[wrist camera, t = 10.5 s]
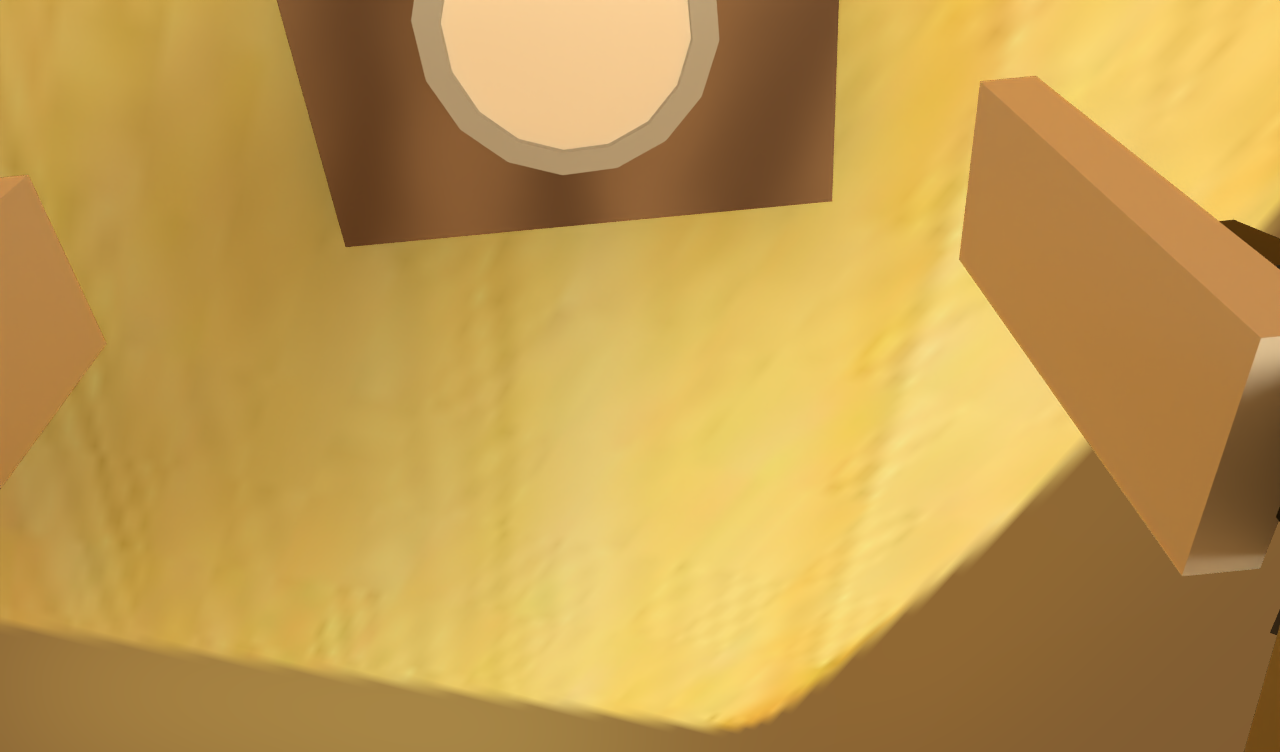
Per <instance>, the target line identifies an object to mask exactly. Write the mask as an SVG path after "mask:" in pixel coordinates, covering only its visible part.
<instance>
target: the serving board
mask: <svg viewBox="0 0 1280 752" xmlns="http://www.w3.org/2000/svg"><path fill="white" fill-rule="evenodd" d="M716 1H717V14H718V28H719V43H718V46H717V50H716V53H715V56H714V59H713V62H712V65H711V69H710V72H709V75H708V78H707V81H706V84H705V88H704V91H703V94H702V97H701V98H700V99H699V101H698V102H697V103H696V104H695V106H694V107H693V108H692V109H691V110H690V112H689V113H688V114H687V115H686V117H685V118H684V119H683V120H682V121H681V123H680V124H679V125H678V126H677V128H676V129H675V130H674V131H673V133H672V134H671V135H670V136H669V137H668V139H667V140H666V141H665V142H663V143H661V144H659V145H657V146H656V147H654V148H652V149H650V150H648V151H647V152H645V153H643V154H641V155H639V156H638V157H636V158H634V159H632V160H631V161H629V162H627V163H625V164H623V165H622V166H620V167H618V168H613V169H605V170H598V171H590V172H583V173H576V174H568V175H559V174H555V173H551V172H547V171H543V170H539V169H534V168H530V167H526V166H522V165H518V164H513V163H509V162H507V161H506V160H504V159H503V158H501V157H500V156H498V155H497V154H495V153H494V152H492V151H491V150H489V149H488V148H486V147H485V146H483V145H482V144H481V143H479V142H478V141H476V140H475V139H473V138H472V137H470V136H469V135H467V134H466V133H464V132H463V131H461V130H460V129H459V127H458V126H457V124H456V123H455V121H454V120H453V119H452V117H451V116H450V114H449V113H448V111H447V110H446V109H445V107H444V106H443V104H442V103H441V101H440V100H439V99H438V97H437V96H436V94H435V93H434V92H433V90H432V89H431V87H430V86H429V84H428V83H427V82H426V79H425V75H424V71H423V67H422V63H421V59H420V55H419V51H418V47H417V43H416V39H415V35H414V31H413V27H412V23H411V18H412V11H413V4H414V0H277V3H278V6H279V10H280V13H281V17H282V21H283V24H284V28H285V31H286V35H287V39H288V42H289V46H290V49H291V53H292V56H293V60H294V64H295V67H296V71H297V74H298V78H299V81H300V85H301V89H302V92H303V96H304V99H305V103H306V107H307V110H308V114H309V117H310V121H311V124H312V128H313V132H314V135H315V139H316V142H317V146H318V150H319V153H320V157H321V160H322V164H323V167H324V171H325V175H326V178H327V182H328V185H329V189H330V193H331V196H332V200H333V203H334V207H335V210H336V214H337V218H338V221H339V225H340V228H341V232H342V236H343V239H344V243H345V246H346V247H351V246H362V245H372V244H383V243H394V242H404V241H415V240H426V239H436V238H447V237H457V236H468V235H479V234H489V233H500V232H510V231H521V230H532V229H542V228H553V227H563V226H574V225H585V224H595V223H606V222H617V221H627V220H638V219H648V218H659V217H670V216H680V215H691V214H701V213H712V212H723V211H733V210H744V209H754V208H765V207H776V206H786V205H797V204H808V203H818V202H829V201H832V185H833V156H834V127H835V98H836V68H837V39H838V10H839V0H716Z"/></svg>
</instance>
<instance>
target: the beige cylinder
mask: <svg viewBox="0 0 1280 752" xmlns="http://www.w3.org/2000/svg"><path fill="white" fill-rule="evenodd" d="M411 23H412V27H413V31H414V35H415V39H416V43H417V47H418V51H419V55H420V59H421V63H422V67H423V71H424V75H425V79H426V82H427V83H428V84H429V86H430V87H431V89H432V90H433V92H434V93H435V94H436V96H437V97H438V99H439V100H440V101H441V103H442V104H443V106H444V107H445V109H446V110H447V111H448V113H449V114H450V116H451V117H452V119H453V120H454V121H455V123H456V124H457V126H458V127H459V129H460V130H461V131H463V132H464V133H466V134H467V135H469V136H470V137H472V138H473V139H475V140H476V141H478V142H479V143H481V144H482V145H483V146H485V147H486V148H488V149H489V150H491V151H492V152H494V153H495V154H497V155H498V156H500V157H501V158H503V159H504V160H506V161H507V162H509V163H513V164H518V165H522V166H526V167H530V168H534V169H539V170H543V171H547V172H551V173H555V174H559V175H568V174H576V173H583V172H590V171H598V170H605V169H613V168H618V167H620V166H622V165H623V164H625V163H627V162H629V161H631V160H632V159H634V158H636V157H638V156H639V155H641V154H643V153H645V152H647V151H648V150H650V149H652V148H654V147H656V146H657V145H659V144H661V143H663V142H665V141H666V140H667V139H668V137H669V136H670V135H671V134H672V133H673V131H674V130H675V129H676V128H677V126H678V125H679V124H680V123H681V121H682V120H683V119H684V118H685V117H686V115H687V114H688V113H689V112H690V110H691V109H692V108H693V107H694V106H695V104H696V103H697V102H698V101H699V99H700V98H701V97H702V94H703V91H704V88H705V84H706V81H707V78H708V75H709V72H710V69H711V65H712V62H713V59H714V56H715V53H716V50H717V46H718V43H719V28H718V14H717V1H716V0H414V4H413V11H412V18H411Z"/></svg>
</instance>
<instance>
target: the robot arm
mask: <svg viewBox="0 0 1280 752" xmlns="http://www.w3.org/2000/svg"><path fill="white" fill-rule="evenodd" d="M959 260H960V261H961V263H962V264H963V266H964V267H965V268H966V270H967V271H968V273H969V274H970V276H971V277H972V278H973V280H974V281H975V283H976V284H977V285H978V287H979V288H980V290H981V291H982V293H983V294H984V295H985V297H986V298H987V300H988V301H989V303H990V304H991V305H992V307H993V308H994V310H995V311H996V312H997V314H998V315H999V317H1000V318H1001V320H1002V321H1003V322H1004V324H1005V325H1006V327H1007V328H1008V330H1009V331H1010V332H1011V334H1012V335H1013V337H1014V338H1015V340H1016V341H1017V342H1018V344H1019V345H1020V347H1021V348H1022V349H1023V351H1024V352H1025V354H1026V355H1027V357H1028V358H1029V359H1030V361H1031V362H1032V364H1033V365H1034V367H1035V368H1036V369H1037V371H1038V372H1039V374H1040V375H1041V377H1042V378H1043V379H1044V381H1045V382H1046V384H1047V385H1048V386H1049V388H1050V389H1051V391H1052V392H1053V394H1054V395H1055V396H1056V398H1057V399H1058V401H1059V402H1060V404H1061V405H1062V406H1063V408H1064V409H1065V411H1066V412H1067V414H1068V415H1069V416H1070V418H1071V419H1072V421H1073V422H1074V423H1075V425H1076V426H1077V428H1078V429H1079V431H1080V432H1081V433H1082V435H1083V436H1084V438H1085V439H1086V441H1087V442H1088V443H1089V445H1090V446H1091V448H1092V449H1093V450H1094V452H1095V453H1096V455H1097V456H1098V458H1099V459H1100V460H1101V462H1102V463H1103V465H1104V466H1105V468H1106V469H1107V470H1108V472H1109V473H1110V475H1111V476H1112V478H1113V479H1114V480H1115V482H1116V483H1117V485H1118V486H1119V487H1120V489H1121V490H1122V492H1123V493H1124V494H1125V496H1126V497H1127V499H1128V500H1129V502H1130V503H1131V505H1132V506H1133V507H1134V509H1135V510H1136V512H1137V513H1138V515H1139V516H1140V517H1141V519H1142V520H1143V521H1144V523H1145V524H1146V526H1147V527H1148V529H1149V530H1150V532H1151V533H1152V534H1153V536H1154V537H1155V539H1156V540H1157V542H1158V543H1159V544H1160V546H1161V547H1162V549H1163V550H1164V552H1165V553H1166V554H1167V556H1168V557H1169V559H1170V560H1171V561H1172V563H1173V564H1174V566H1175V567H1176V569H1177V570H1178V571H1179V573H1180V574H1181V576H1188V575H1199V574H1208V573H1219V572H1229V571H1239V570H1249V569H1258V568H1260V567H1261V564H1262V562H1263V559H1264V557H1265V554H1266V552H1267V549H1268V547H1269V544H1270V542H1271V539H1272V536H1273V534H1274V531H1275V529H1276V526H1277V524H1278V521H1280V239H1279V238H1277V237H1275V236H1272V235H1270V234H1267V233H1265V232H1262V231H1260V230H1257V229H1255V228H1253V227H1250V226H1248V225H1245V224H1243V223H1240V222H1238V221H1236V220H1227V221H1218V220H1217V219H1215V218H1214V217H1213V216H1212V215H1210V214H1209V213H1208V212H1207V211H1205V210H1204V209H1203V208H1202V207H1200V206H1199V205H1198V204H1196V203H1195V202H1194V201H1193V200H1191V199H1190V198H1189V197H1188V196H1186V195H1185V194H1184V193H1183V192H1181V191H1180V190H1179V189H1178V188H1176V187H1175V186H1174V185H1173V184H1171V183H1170V182H1169V181H1168V180H1166V179H1165V178H1164V177H1162V176H1161V175H1160V174H1159V173H1157V172H1156V171H1155V170H1154V169H1152V168H1151V167H1150V166H1149V165H1147V164H1146V163H1145V162H1144V161H1142V160H1141V159H1140V158H1139V157H1137V156H1136V155H1135V154H1133V153H1132V152H1131V151H1130V150H1128V149H1127V148H1126V147H1125V146H1123V145H1122V144H1121V143H1120V142H1118V141H1117V140H1116V139H1115V138H1113V137H1112V136H1111V135H1110V134H1108V133H1107V132H1106V131H1105V130H1103V129H1102V128H1101V127H1099V126H1098V125H1097V124H1096V123H1094V122H1093V121H1092V120H1091V119H1089V118H1088V117H1087V116H1086V115H1084V114H1083V113H1082V112H1081V111H1079V110H1078V109H1077V108H1076V107H1074V106H1073V105H1072V104H1070V103H1069V102H1068V101H1067V100H1065V99H1064V98H1063V97H1062V96H1060V95H1059V94H1058V93H1057V92H1055V91H1054V90H1053V89H1052V88H1050V87H1049V86H1048V85H1047V84H1045V83H1044V82H1043V81H1041V80H1040V79H1039V78H1038V77H1036V76H1030V77H1020V78H1009V79H999V80H989V81H980V88H979V97H978V105H977V114H976V122H975V130H974V139H973V147H972V156H971V164H970V173H969V181H968V189H967V198H966V206H965V215H964V223H963V232H962V240H961V248H960V257H959ZM105 345H106V342H105V339H104V337H103V335H102V333H101V331H100V329H99V326H98V324H97V322H96V320H95V318H94V316H93V313H92V311H91V309H90V307H89V305H88V303H87V301H86V298H85V296H84V294H83V292H82V290H81V288H80V285H79V283H78V281H77V279H76V277H75V275H74V272H73V270H72V268H71V266H70V264H69V262H68V260H67V257H66V255H65V253H64V251H63V249H62V247H61V244H60V242H59V240H58V238H57V236H56V234H55V231H54V229H53V227H52V225H51V223H50V221H49V218H48V216H47V214H46V212H45V210H44V208H43V206H42V203H41V201H40V199H39V197H38V195H37V193H36V190H35V188H34V186H33V184H32V182H31V180H30V177H29V175H22V176H12V177H1V178H0V489H1V487H2V486H3V485H4V483H5V482H6V481H7V479H8V478H9V476H10V475H11V474H12V472H13V471H14V470H15V468H16V467H17V466H18V464H19V463H20V461H21V460H22V459H23V457H24V456H25V455H26V453H27V452H28V450H29V449H30V448H31V446H32V445H33V444H34V442H35V441H36V439H37V438H38V437H39V435H40V434H41V433H42V431H43V430H44V429H45V427H46V426H47V424H48V423H49V422H50V420H51V419H52V418H53V416H54V415H55V413H56V412H57V411H58V409H59V408H60V407H61V405H62V404H63V402H64V401H65V400H66V398H67V397H68V396H69V394H70V393H71V392H72V390H73V389H74V387H75V386H76V385H77V383H78V382H79V381H80V379H81V378H82V376H83V375H84V374H85V372H86V371H87V370H88V368H89V367H90V365H91V364H92V363H93V361H94V360H95V359H96V357H97V356H98V355H99V353H100V352H101V350H102V349H103V348H104V346H105ZM1270 633H1272V634H1275V635H1277V637H1276V641H1275V644H1274V648H1273V651H1272V655H1271V658H1270V662H1269V665H1268V669H1267V672H1266V676H1265V679H1264V683H1263V686H1262V690H1261V693H1260V697H1259V700H1258V704H1257V707H1256V711H1255V714H1254V718H1253V722H1252V725H1251V728H1250V732H1249V735H1248V739H1247V742H1246V746H1245V749H1244V752H1280V611H1279V613H1278V615H1277V618H1276V620H1275V622H1274V625H1273V627H1272V629H1271V632H1270Z"/></svg>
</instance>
